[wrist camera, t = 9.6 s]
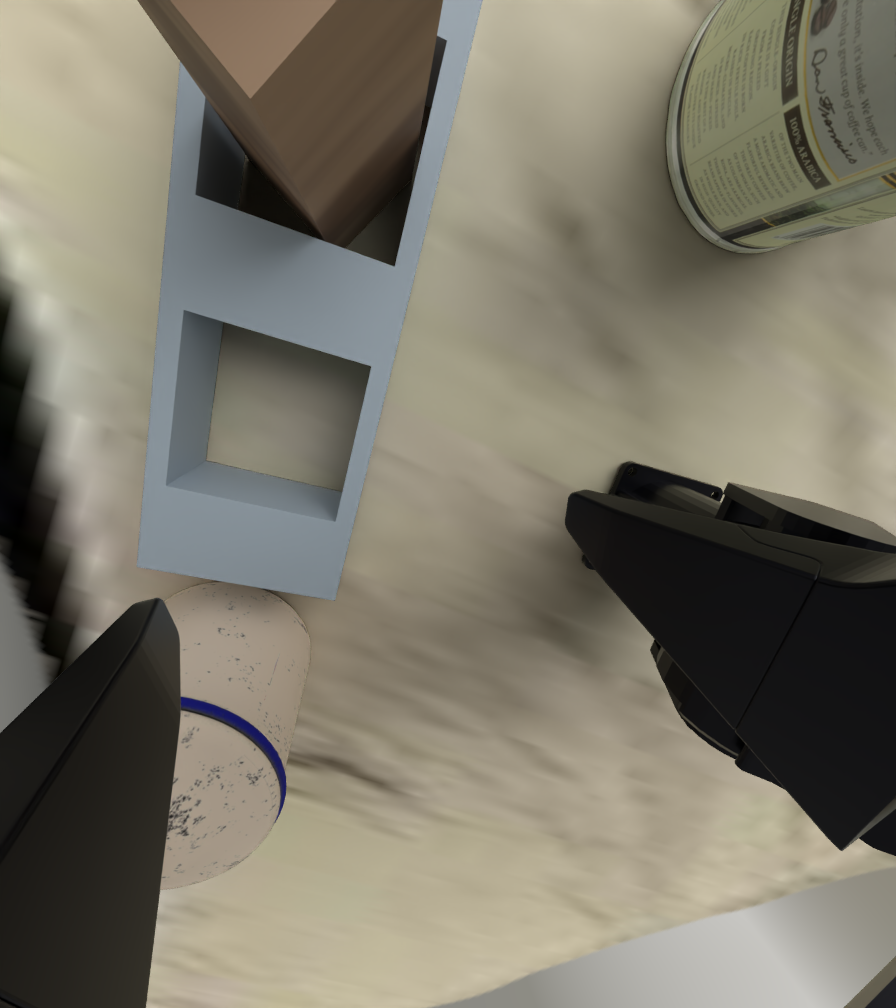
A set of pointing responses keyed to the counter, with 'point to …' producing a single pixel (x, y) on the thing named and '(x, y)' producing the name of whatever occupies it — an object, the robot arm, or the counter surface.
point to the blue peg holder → (278, 313)
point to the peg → (314, 94)
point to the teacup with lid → (231, 724)
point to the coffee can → (785, 121)
